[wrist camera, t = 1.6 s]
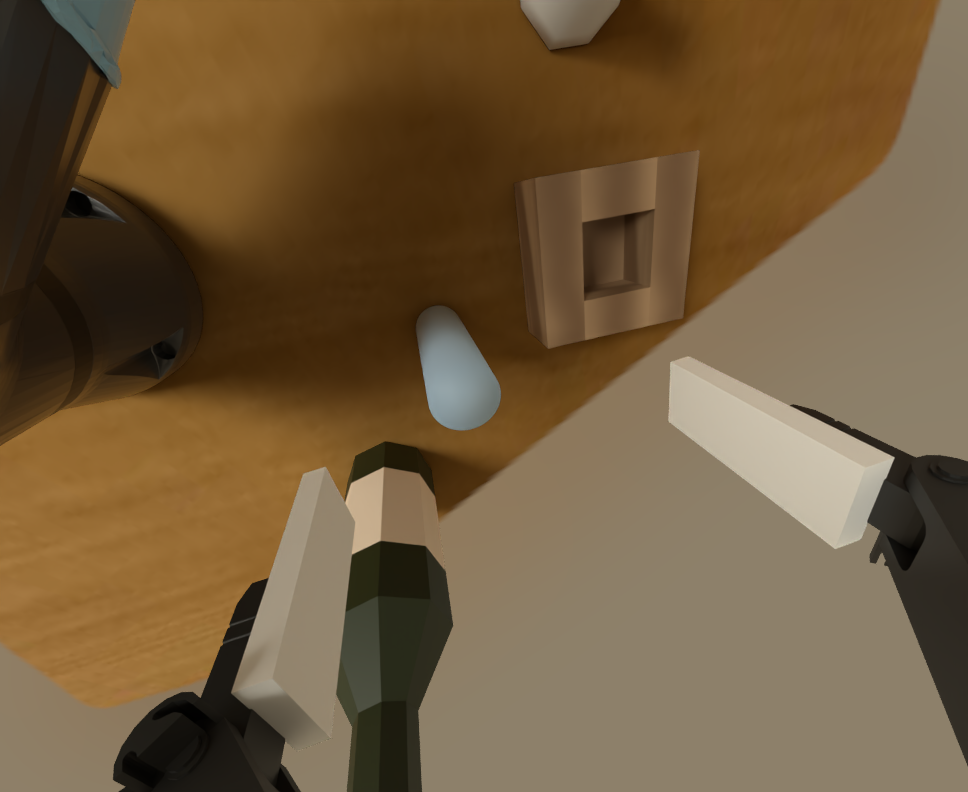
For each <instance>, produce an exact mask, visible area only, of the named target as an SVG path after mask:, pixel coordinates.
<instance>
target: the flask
mask: <svg viewBox="0 0 968 792" xmlns="http://www.w3.org/2000/svg"><path fill="white" fill-rule="evenodd" d="M520 2H521V9H522V10H523V12H524V13H525V15H526V16H527V18H528V19H529V21H530V22H531V24H532V25H533V27H534V28H535V30H536V31H537V33H538V34H539V36H540V37H541V39H542V40H543V41H544V43H545V44H546V46H547V47H548V49H549V50H552V49H558V48H564V47H571V46H577V45H583V44H588V43H589V42H590V41H591V40H592V38H593V37H594V36H595V35H596V33H597V32H598V31H599V29H600V28H601V27H602V26H603V24H604V23H605V22H606V21H607V19H608V18H609V17H610V16H611V14H612V13H613V12H614V11H615V9H616V8H617V7H618V6H619V3H620V0H520Z"/></svg>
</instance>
